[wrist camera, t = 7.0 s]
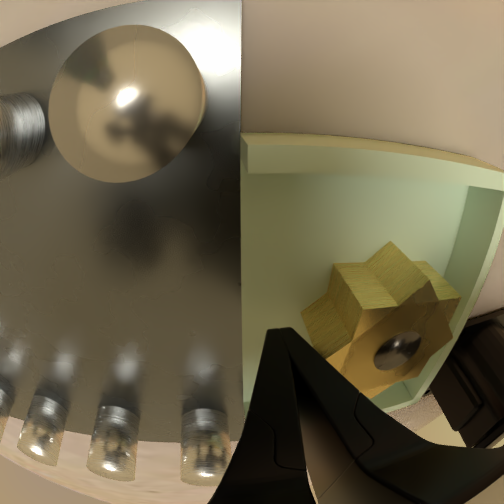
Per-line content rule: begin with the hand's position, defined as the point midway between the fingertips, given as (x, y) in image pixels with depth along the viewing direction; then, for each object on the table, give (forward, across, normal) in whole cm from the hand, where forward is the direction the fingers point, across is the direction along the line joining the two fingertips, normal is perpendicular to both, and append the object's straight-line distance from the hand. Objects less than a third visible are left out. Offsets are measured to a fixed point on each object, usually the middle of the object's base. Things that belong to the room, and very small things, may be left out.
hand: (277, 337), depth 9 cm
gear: (+1, -4, 0) cm, 4 cm away
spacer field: (+2, +10, 0) cm, 10 cm away
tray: (+2, -4, 0) cm, 4 cm away
